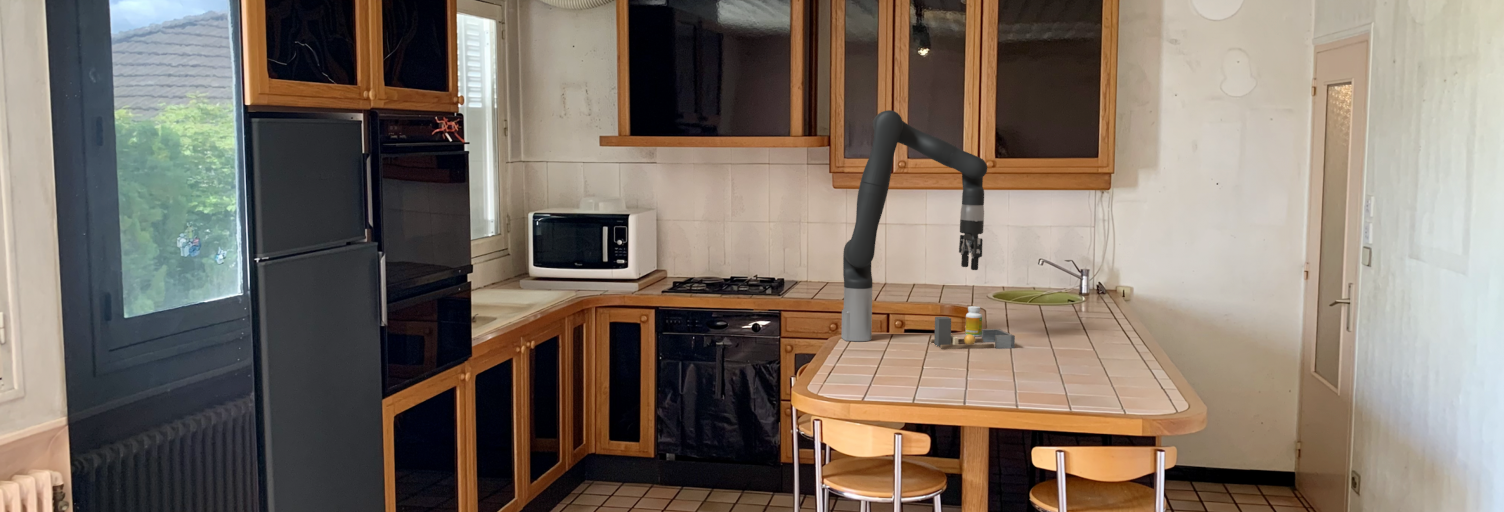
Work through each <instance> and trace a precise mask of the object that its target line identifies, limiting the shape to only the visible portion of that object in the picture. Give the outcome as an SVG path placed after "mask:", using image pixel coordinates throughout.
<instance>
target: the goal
mask: <svg viewBox="0 0 1504 512" xmlns="http://www.w3.org/2000/svg"><path fill="white" fill-rule="evenodd" d="M981 338H982V339H983V343H994V344H995V345H994V349H996V350H997V349H999V350H1000V349H1015V343H1016V335H1014V334H1012V333H1010V332H1007V331H1004V330H1002V329H1000V328H992V329H991V328H990V329H989V328H988V329H987V328H982V335H981Z"/></svg>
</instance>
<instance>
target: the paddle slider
mask: <svg viewBox="0 0 1504 512" xmlns="http://www.w3.org/2000/svg"><path fill="white" fill-rule="evenodd" d="M934 339H935V340H934V344H935V345H934V344H933V345H934V346H936V345H937V346H936V347H938V346H940V345H956V344H959V343H958V339H959V337H957V336H955V335H954V334H952V318H951V317H950V316H949V317H948V316H934Z"/></svg>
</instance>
